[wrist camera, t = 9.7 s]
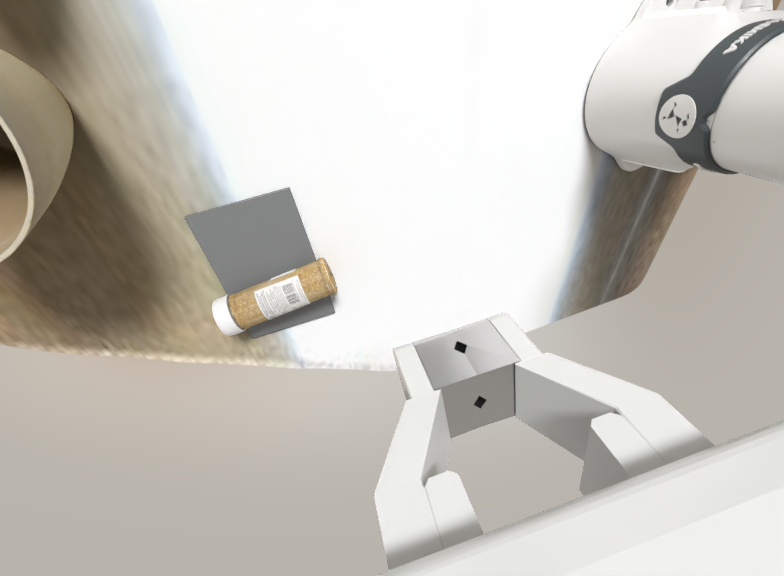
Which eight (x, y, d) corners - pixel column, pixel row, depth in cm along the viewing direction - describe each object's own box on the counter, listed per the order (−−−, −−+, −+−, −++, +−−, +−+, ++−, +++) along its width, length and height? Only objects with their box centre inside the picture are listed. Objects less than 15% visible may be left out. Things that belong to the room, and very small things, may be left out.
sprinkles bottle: (322, 250, 44) (213, 293, 44) (325, 267, 41) (207, 314, 40) (336, 281, 47) (233, 322, 46) (341, 300, 43) (229, 345, 42)
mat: (289, 187, 40) (289, 188, 39) (334, 310, 50) (335, 312, 49) (185, 216, 39) (184, 218, 39) (252, 336, 49) (252, 338, 48)
